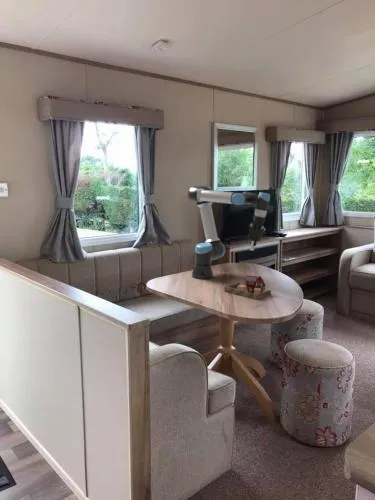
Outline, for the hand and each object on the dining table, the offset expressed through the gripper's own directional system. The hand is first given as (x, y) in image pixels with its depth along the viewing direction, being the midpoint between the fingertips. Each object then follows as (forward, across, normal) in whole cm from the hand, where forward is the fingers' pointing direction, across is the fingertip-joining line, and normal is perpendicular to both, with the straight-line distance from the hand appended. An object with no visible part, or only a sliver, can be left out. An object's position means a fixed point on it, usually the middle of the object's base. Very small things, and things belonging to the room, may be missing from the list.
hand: (251, 250), depth 278 cm
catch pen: (+22, +18, -21) cm, 36 cm away
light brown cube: (+21, +14, -24) cm, 35 cm away
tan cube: (+21, +24, -20) cm, 38 cm away
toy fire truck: (+22, +20, -16) cm, 33 cm away
